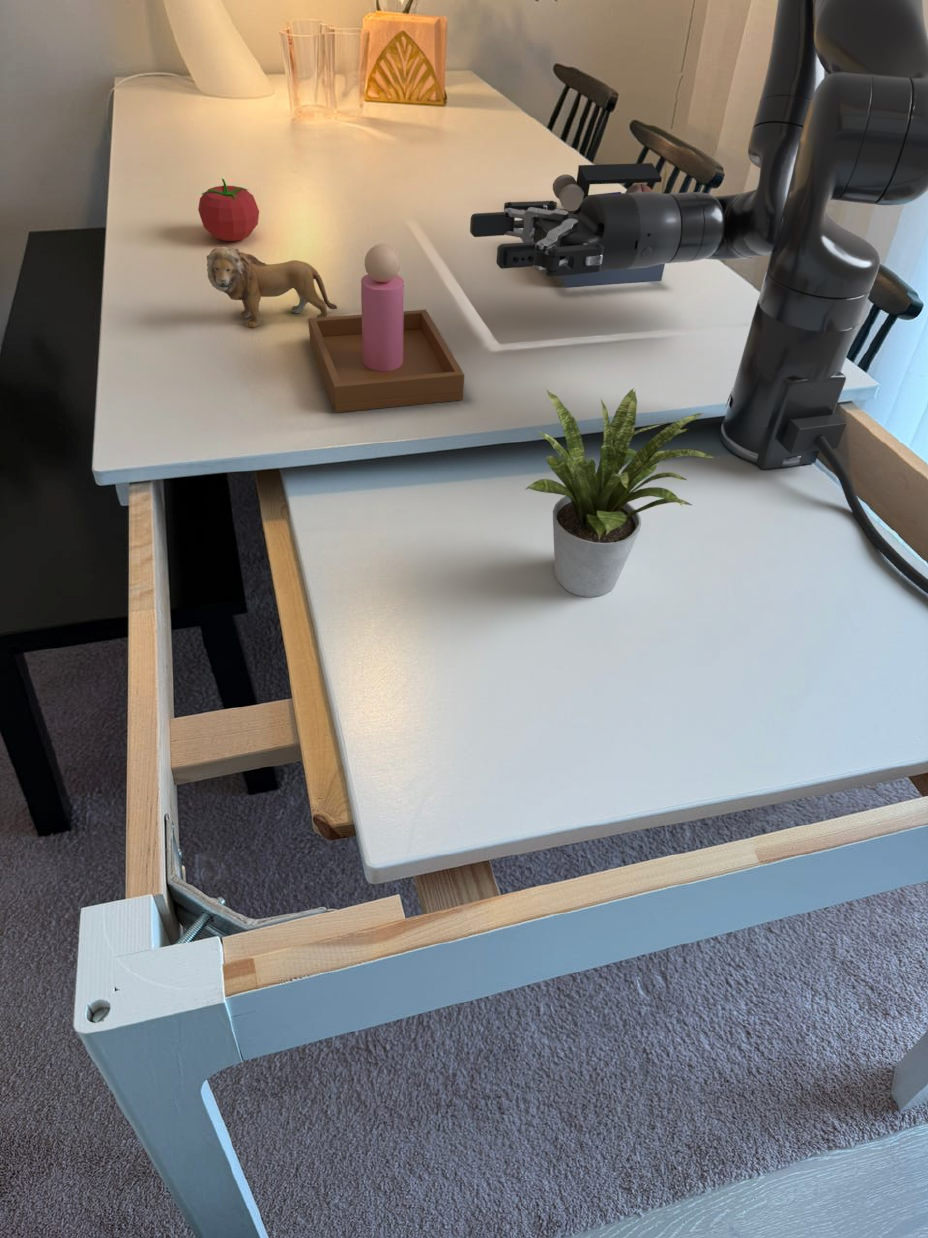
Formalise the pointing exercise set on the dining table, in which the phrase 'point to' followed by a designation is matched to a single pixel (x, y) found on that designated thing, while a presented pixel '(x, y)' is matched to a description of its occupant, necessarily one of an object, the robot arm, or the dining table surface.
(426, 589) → the dining table surface
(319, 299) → the lion figurine
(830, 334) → the robot arm
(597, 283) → the blue square open box
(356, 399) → the tray
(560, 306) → the dining table surface
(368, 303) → the doll
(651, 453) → the house plant
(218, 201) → the tomato
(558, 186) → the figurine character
